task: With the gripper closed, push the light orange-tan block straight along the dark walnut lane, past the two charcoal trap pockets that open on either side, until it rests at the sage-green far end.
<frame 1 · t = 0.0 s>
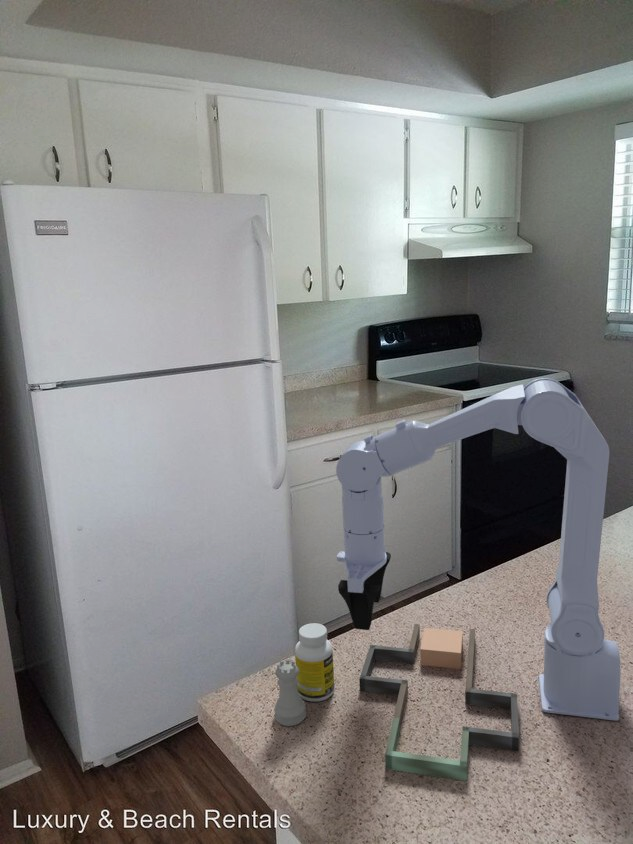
hand: (367, 614, 94), 10 cm above the countertop, tool pointing down, fingers open, 7 cm apart
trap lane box: (437, 691, 92), on the countertop
light orange-tan block: (442, 657, 100), on the countertop
rook chess piece: (290, 718, 89), on the countertop
supplement bottle: (316, 692, 94), on the countertop
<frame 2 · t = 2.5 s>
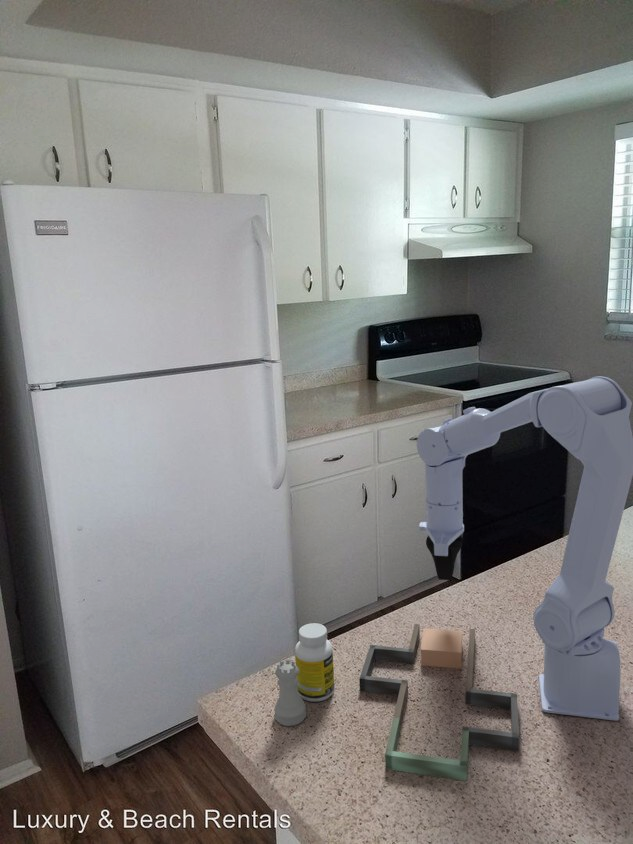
hand: (445, 578, 106), 9 cm above the countertop, tool pointing down, fingers closed
nothing on the countertop moved.
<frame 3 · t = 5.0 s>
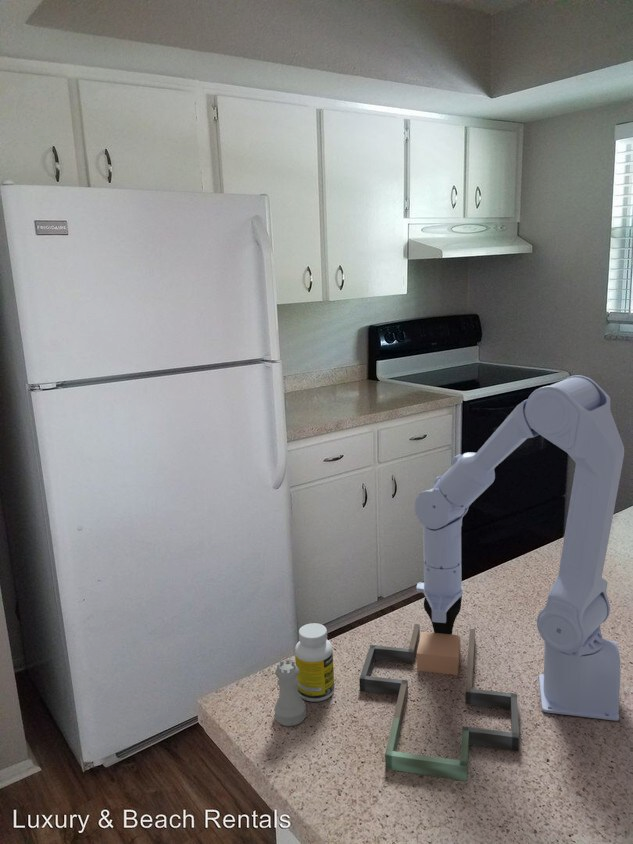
hand: (443, 640, 103), 1 cm above the countertop, tool pointing down, fingers closed
light orange-tan block: (439, 661, 99), on the countertop
everything else where it was.
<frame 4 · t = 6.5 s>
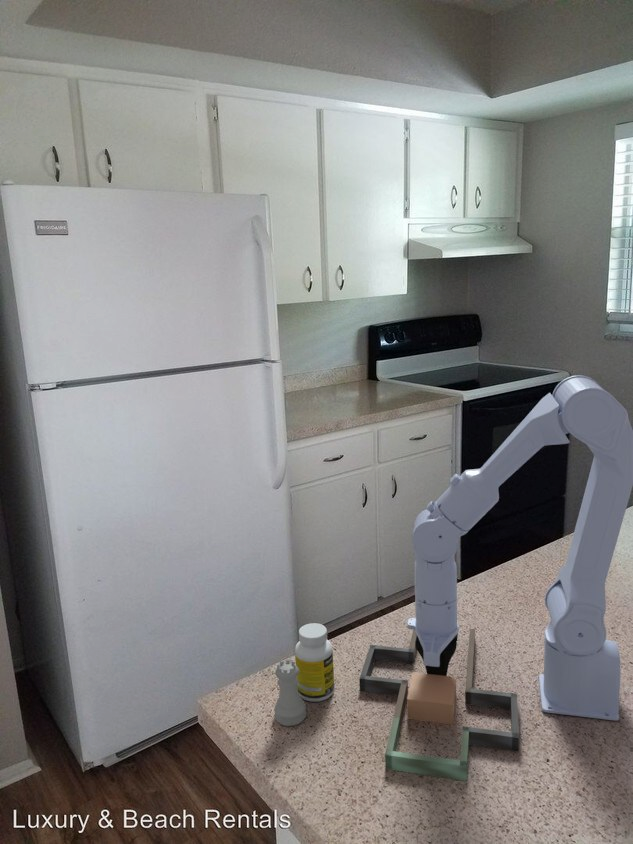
hand: (437, 681, 92), 1 cm above the countertop, tool pointing down, fingers closed
light orange-tan block: (432, 707, 89), on the countertop, touching gripper
everything else where it was.
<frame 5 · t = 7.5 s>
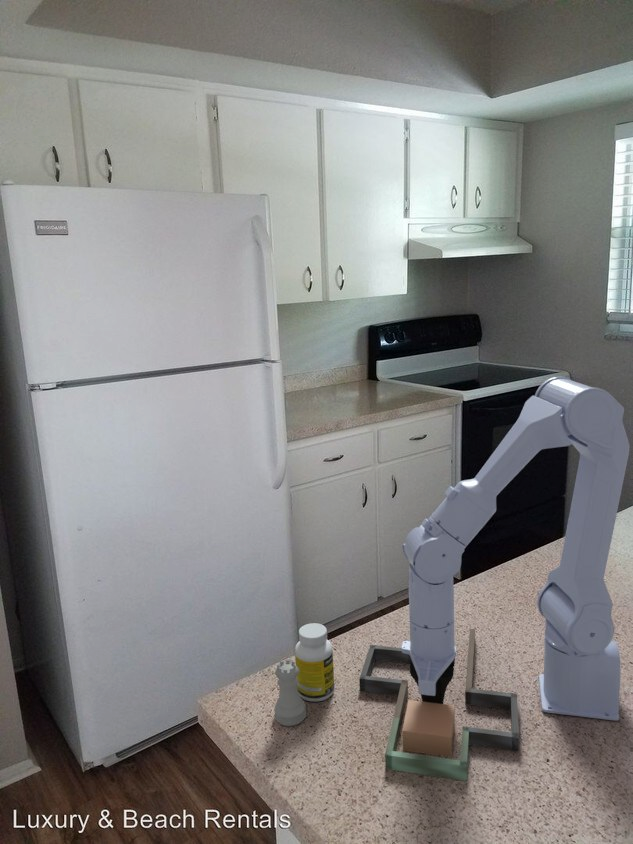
hand: (433, 708, 87), 1 cm above the countertop, tool pointing down, fingers closed
light orange-tan block: (429, 737, 83), on the countertop, touching gripper
everything else where it was.
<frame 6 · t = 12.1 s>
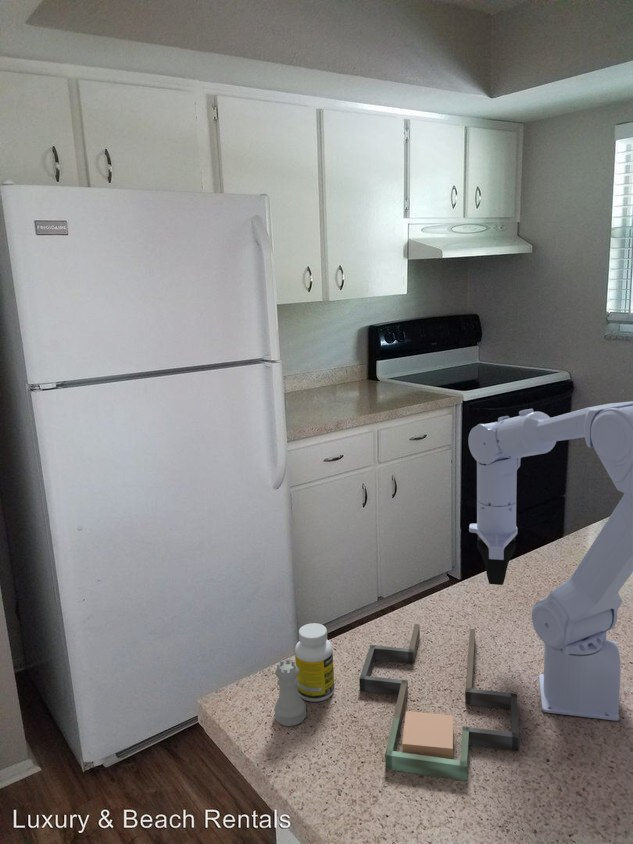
hand: (496, 582, 100), 10 cm above the countertop, tool pointing down, fingers closed
light orange-tan block: (428, 749, 81), on the countertop
everything else where it was.
at the end: light orange-tan block 1.1 cm from the target spot, on the countertop; light orange-tan block tilted 0°; light orange-tan block moved 20.2 cm from its start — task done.
